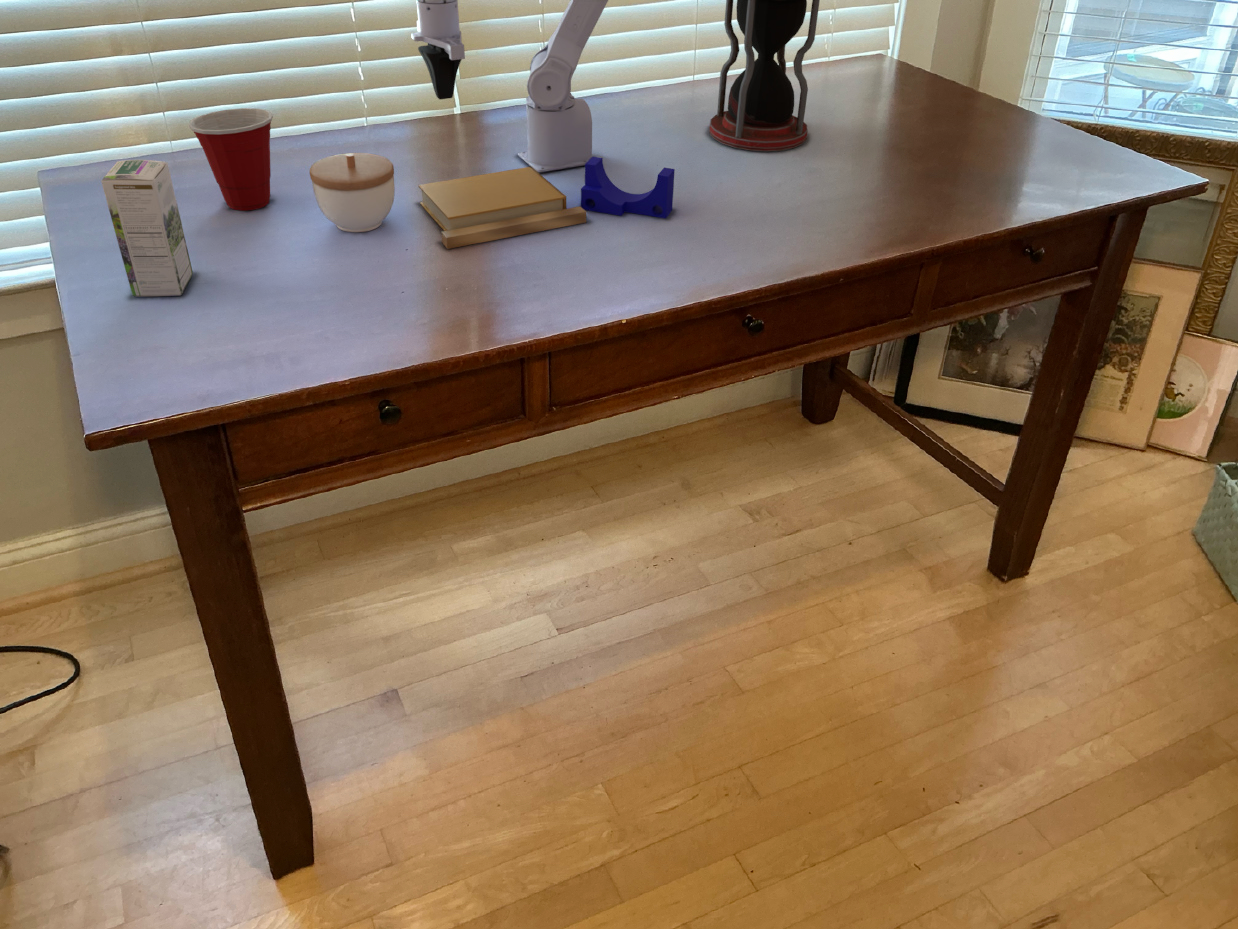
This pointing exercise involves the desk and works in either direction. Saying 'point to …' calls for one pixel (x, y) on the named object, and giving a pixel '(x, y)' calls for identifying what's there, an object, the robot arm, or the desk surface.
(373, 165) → the trinket box
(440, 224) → the book
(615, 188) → the blue cradle bracket
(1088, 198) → the desk surface
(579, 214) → the rail
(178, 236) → the syrup box
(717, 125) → the hourglass
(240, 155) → the plastic cup
